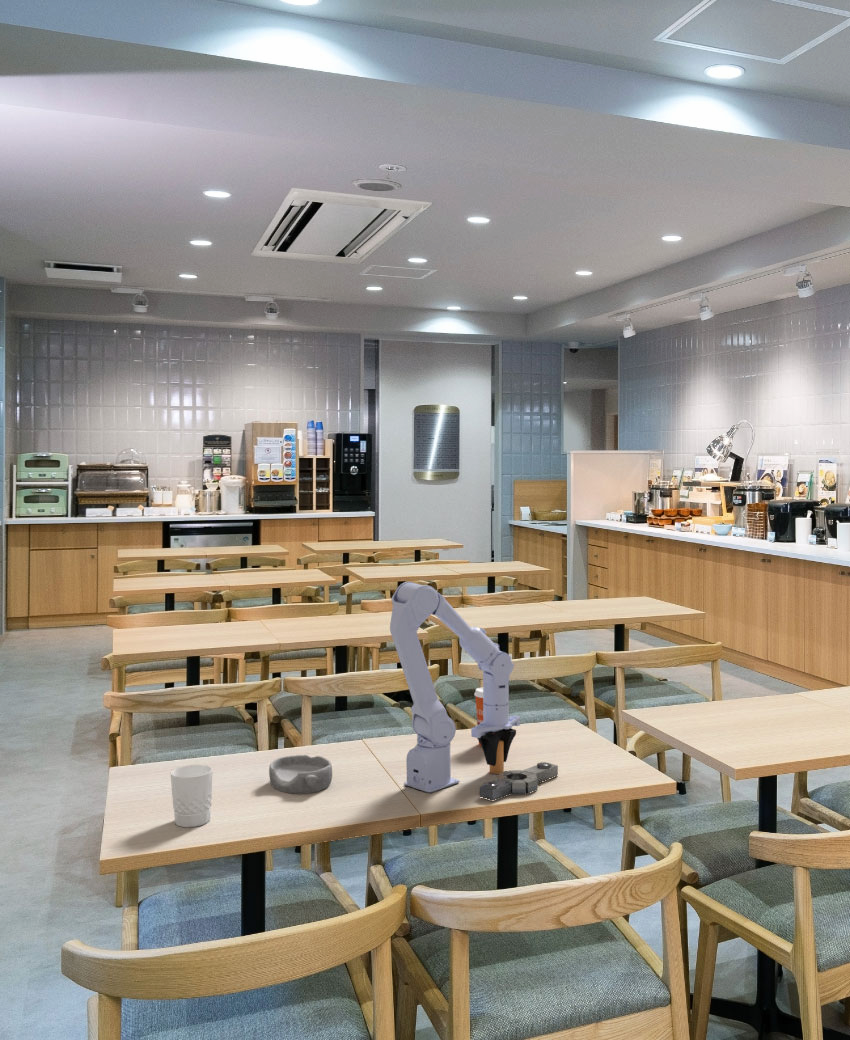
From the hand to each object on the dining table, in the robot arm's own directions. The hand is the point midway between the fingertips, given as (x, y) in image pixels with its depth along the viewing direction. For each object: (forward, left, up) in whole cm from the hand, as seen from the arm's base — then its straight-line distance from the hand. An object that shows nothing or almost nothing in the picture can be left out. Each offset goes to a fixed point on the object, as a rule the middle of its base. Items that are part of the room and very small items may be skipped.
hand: (496, 762), depth 205 cm
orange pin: (0, 0, -2) cm, 2 cm away
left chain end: (-8, -10, -2) cm, 13 cm away
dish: (-35, +26, -2) cm, 44 cm away
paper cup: (+15, +15, -2) cm, 21 cm away
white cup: (-63, +24, -2) cm, 67 cm away
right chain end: (-1, -10, -2) cm, 10 cm away
